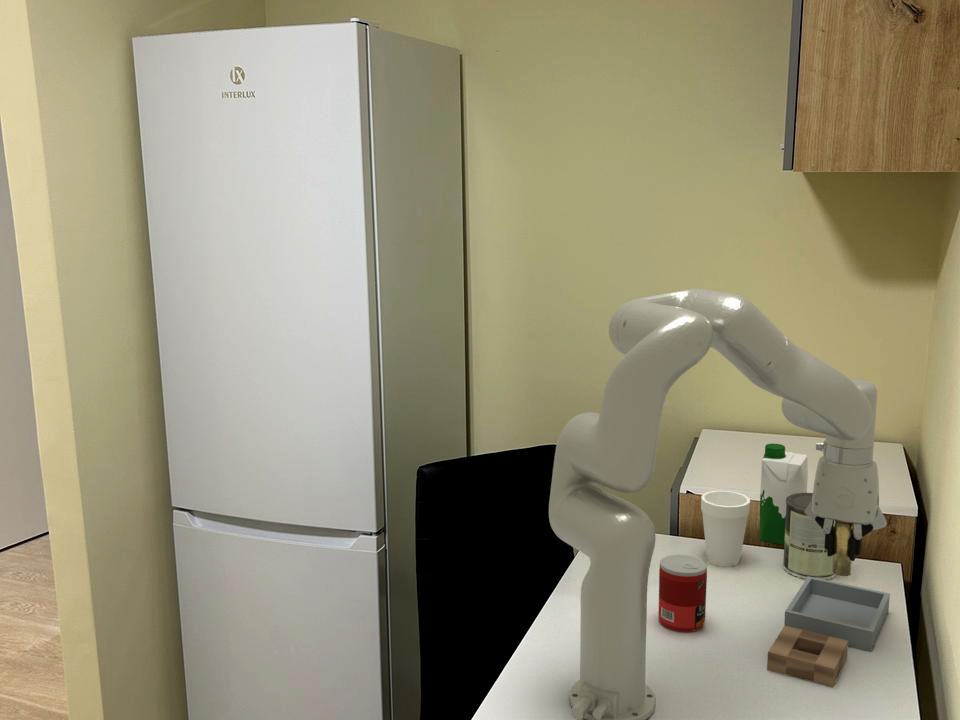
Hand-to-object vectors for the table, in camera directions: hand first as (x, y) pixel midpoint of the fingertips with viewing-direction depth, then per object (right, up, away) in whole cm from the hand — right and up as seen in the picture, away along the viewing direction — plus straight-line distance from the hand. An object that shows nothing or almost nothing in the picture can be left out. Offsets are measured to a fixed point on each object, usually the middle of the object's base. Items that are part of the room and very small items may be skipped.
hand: (842, 554), depth 160 cm
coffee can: (+3, -8, +23) cm, 24 cm away
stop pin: (0, -3, +1) cm, 3 cm away
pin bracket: (-10, -15, -11) cm, 21 cm away
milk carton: (+2, -5, +38) cm, 39 cm away
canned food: (-27, -13, +3) cm, 30 cm away
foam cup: (-13, -7, +28) cm, 32 cm away
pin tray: (0, -12, +2) cm, 12 cm away
